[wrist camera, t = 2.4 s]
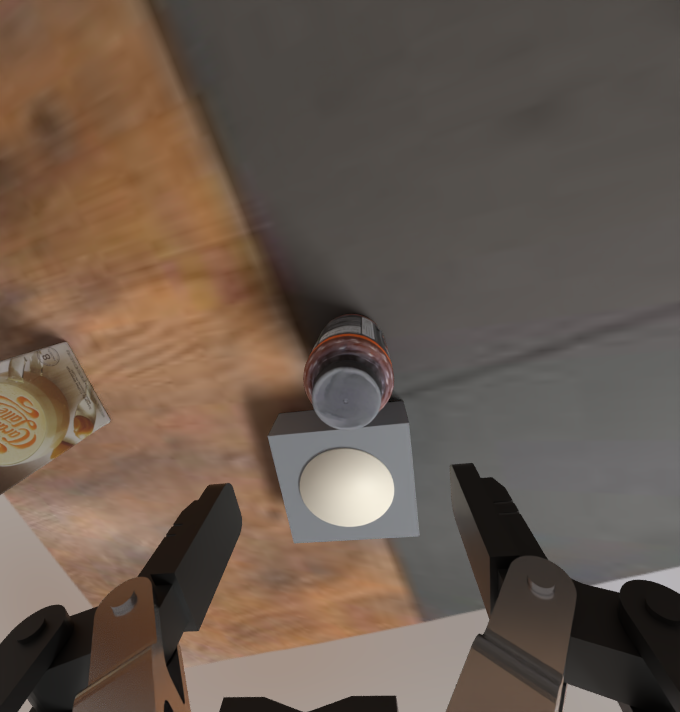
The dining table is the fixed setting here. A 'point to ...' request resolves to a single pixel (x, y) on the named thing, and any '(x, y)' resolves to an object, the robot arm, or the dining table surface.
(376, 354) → the supplement bottle
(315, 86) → the dining table surface
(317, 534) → the base block
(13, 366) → the coffee box
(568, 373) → the dining table surface
